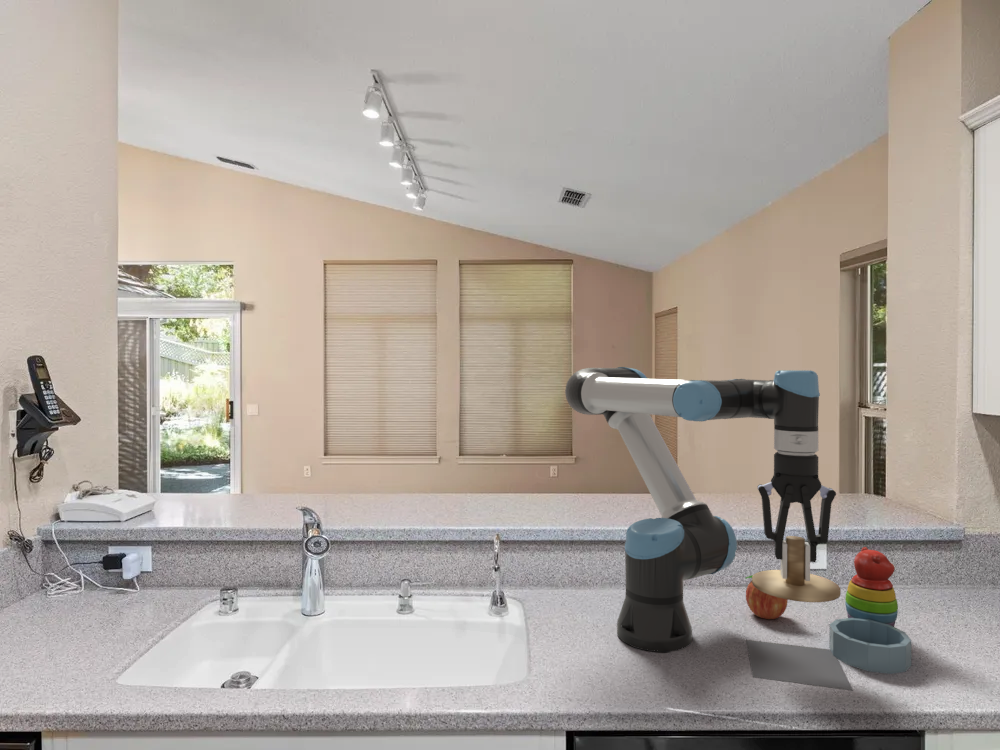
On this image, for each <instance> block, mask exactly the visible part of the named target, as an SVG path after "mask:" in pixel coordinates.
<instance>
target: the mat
mask: <svg viewBox="0 0 1000 750" xmlns="http://www.w3.org/2000/svg"><path fill="white" fill-rule="evenodd" d="M745 643H746V649H747V652H748V653H747V654H748V658H749V664H750V668H751V674H752V678H756V679H764V680H771V681H780V682H785V683H792V684H793V683H795V684H801V685H808V686H815V687H822V688H830V689H831V688H832V689H839V690H844V691H845V690H846V691H854V688H853V687H852V686H851V683H850V681H849V679H848V677H847V675H846V673H845V671H844V669H843V667H842V664H841V663H840V661H839V659H837V658H836V657H835V656H833V654H832V652H831V650H830V648H821V647H820V648H819V647H813V646H806V645H805V646H803V645H796V644H785V643H780V642H779V643H778V642H770V641H761V640H754V639H753V640H752V639H745Z"/></svg>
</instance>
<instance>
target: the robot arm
mask: <svg viewBox="0 0 1000 750" xmlns="http://www.w3.org/2000/svg"><path fill="white" fill-rule="evenodd" d="M564 395H565V398H566V401H567V403H568V405H569V406H570V408H572V409H573V410H574V411H575V412H577V413H579V414H582V415H588V416H591V415H592V416H595V415H596V416H597V415H603V416H604V418H605V420H606V422H607V424H608V426H609V427H610V428H612V429H615V430H617V431H618V433H619V434H620V436H621V439H622V441H623V443H624V445H625V447H626V448H627V451H628V452H629V454H630V456H631V458H632V460H633V463H634V464H635V466H636V468H637V471H638V473H639V474H640V476H641V478H642V480H643V481H644V482H643V483H644V484H645V486H646V487H647V490H648V492H649V494H650V496H651V497H652V499H653V502H654V503H655V505H656V507H657V509H658V511H659V513H660V515H661V517H656V518H644V519H641V520H640V519H639V520H638V521H636V522H633V523H632V524H630V525H629V527H628V528H627V529H626V533H625V542H624V551H625V552H624V554H625V555H624V556H625V557H624V558H625V560H624V561H625V565H624V566H625V567H624V568H625V597H624V601H623V604H622V606H621V609H620V613H619V616H618V618H617V621H616V622H617V623H616V634H617V637H618V638H619V639H620V640H621V641H622V642H624V643H625V644H627V645H629V646H632V647H634V648H637V649H640V650H645V651H651V652H661V653H667V652H669V653H670V652H675V651H680V650H683V649H685V648H687V647H689V646H690V645H691V644H692V642H693V628H692V625H691V622H690V618H689V616H688V615H689V614H688V612H687V609H686V608H687V607H686V606H685V601H684V581H689V580H691V579H696V578H700V577H703V576H707V575H714V574H716V573H718V572H720V571H723V570H725V569H727V568H728V567H729V566H731V564H732V563H733V562H734V560H735V557H736V551H737V550H738V545H737V544H738V543H737V538H736V534H735V530H734V529H733V527H732V525H731V524H730V523H729V522H728V521H727V520H726V519H724V518H721V517H720V516H718V515H713V513H712V511H711V510H710V508H709V506H708V504H707V503H706V502H703V501H700V500H697V498H696V497H695V495H694V493H693V491H692V489H691V487H690V486H689V484H688V482H687V479H686V478H685V476H684V474H683V473H682V471H681V469H680V467H679V466H678V464H677V462H676V460H675V458H674V456H673V455H672V453H671V451H670V449H669V447H668V445H667V444H666V442H665V440H664V438H663V437H662V435H661V432H660V430H659V429H658V427H657V426H656V423H655V422H654V420H653V417H652V416H654V415H655V416H662V417H664V416H665V417H674V418H675V417H676V418H682V419H683V420H684V421H685V420H686V421H690V422H692V421H693V422H706V421H714V420H726V419H727V420H728V419H729V420H730V419H745V418H746V419H747V418H754V419H755V418H756V419H768V420H769V419H770V420H773V427H774V428H773V432H774V433H773V441H774V442H773V449H774V450H775V451H776V452H775V453H774V454H773V475H772V477H771V479H770V481H769V482H767V483H765V484H760V483H759V484H758V485H757V491H758V493H759V494H760V496H761V506H762V509H761V510H762V519H763V521H762V522H763V533H764V536H765V537H766V539H768V540H771V541H773V542H774V557H775V558H776V560H780V570H781V576H782V578H783V579H787V543H786V539H785V540H784V537H785V531H786V527H787V521H788V515H789V511H790V507H791V504H794V503H797V504H801V508H802V514H803V520H804V527H805V532H806V538H807V541H805V581H810V574H811V563H816V562H817V546H818V545H819V544H826V543H828V541H829V534H830V533H829V532H830V522H831V512H832V503H833V501H834V499H835V498H836V495H837V493H836V490H834V489H833V488H831V487H827V486H824V485H822V482H821V481H820V478H819V456H818V454H816V453H817V452H818V451H819V403H820V401H819V400H820V395H821V394H820V385H819V376H818V373H817V372H816V371H814V370H811V369H810V370H809V369H808V370H806V369H805V370H803V369H802V370H799V369H796V370H794V369H792V370H791V369H789V370H786V369H784V370H783V369H782V370H777V371H775V373H774V377H773V379H769V380H765V379H763V380H762V379H745V378H733V379H723V380H722V379H721V380H713V379H712V380H709V379H707V380H702V379H701V380H698V379H697V380H695V379H689V380H688V379H672V378H671V379H670V378H669V379H667V378H648V377H647V376H646V374H644V373H643V372H642V371H641V370H639V369H636V368H632V367H628V366H627V367H626V366H619V367H586V368H581V369H579V370H576V371H575V372H574V373H573V374H572V375H570V377H569V379H568V380H567V382H566V385H565V392H564ZM651 415H652V416H651ZM773 489H774V490H775V492H776V493H777V494H778V496H779V497H780V504H779V509H778V516H777V520H776V526H775V531H773V524H772V509H771V500H770V496H771V495H772V490H773ZM819 491H820V492H819ZM817 493H819V496H820V498H821V501H820V512H819V513H820V514H819V523H818V533H817V534H816V528H815V522H814V517H813V512H812V499H813V498H814V497H815V496H816V495H817Z"/></svg>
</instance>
